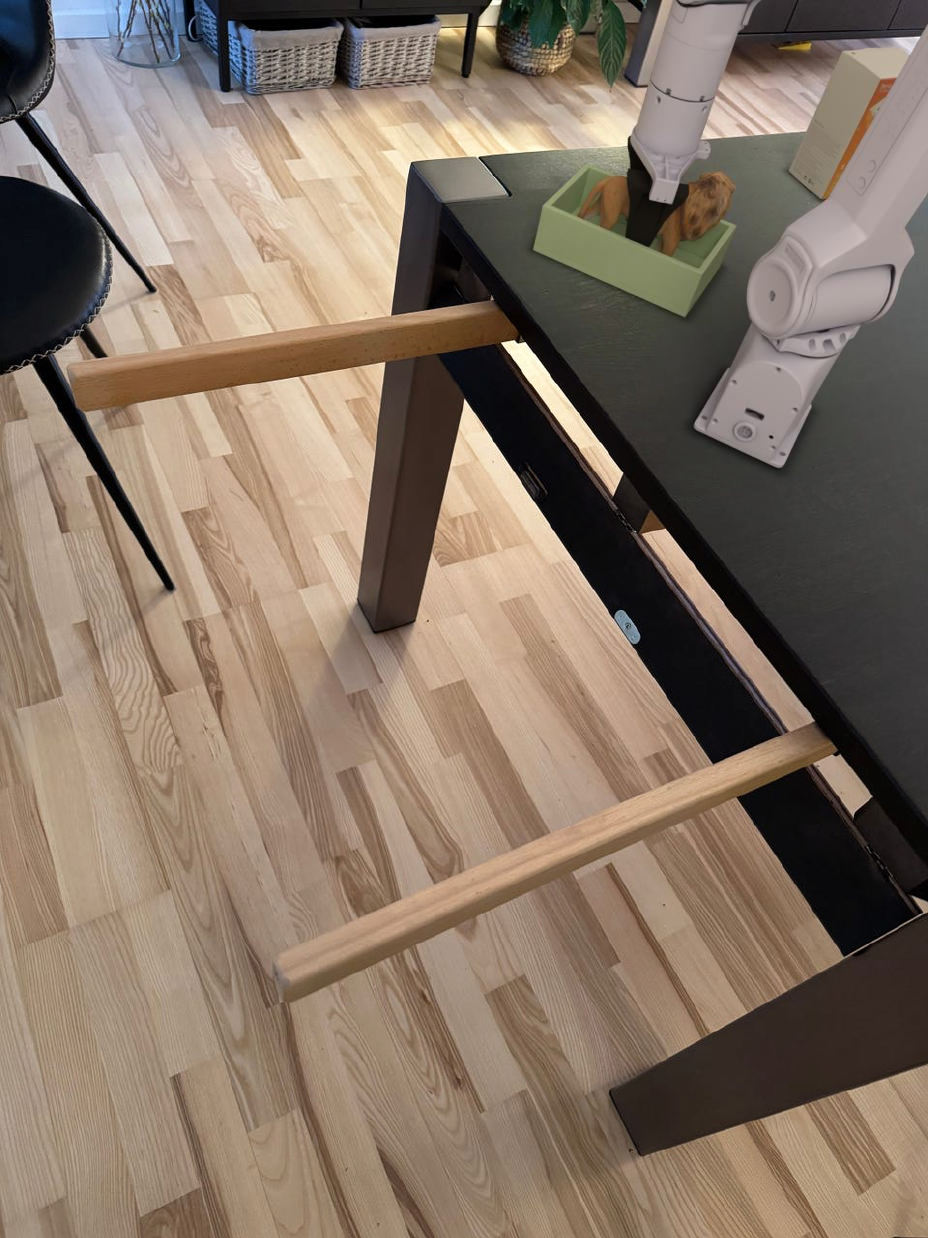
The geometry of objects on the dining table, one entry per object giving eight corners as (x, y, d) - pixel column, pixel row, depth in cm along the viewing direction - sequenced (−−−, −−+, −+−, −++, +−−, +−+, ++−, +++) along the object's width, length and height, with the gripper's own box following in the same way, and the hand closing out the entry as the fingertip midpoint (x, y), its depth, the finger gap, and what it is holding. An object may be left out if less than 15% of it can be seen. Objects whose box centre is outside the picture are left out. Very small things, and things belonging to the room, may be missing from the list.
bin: (684, 317, 84) (702, 274, 80) (532, 250, 87) (542, 205, 83) (719, 267, 89) (737, 225, 86) (575, 206, 92) (586, 162, 89)
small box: (820, 201, 100) (881, 78, 90) (786, 171, 103) (840, 48, 93) (873, 193, 103) (937, 72, 92) (838, 163, 106) (896, 43, 95)
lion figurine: (701, 252, 90) (737, 164, 82) (705, 283, 86) (743, 194, 79) (558, 223, 88) (583, 131, 81) (557, 253, 85) (582, 160, 78)
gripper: (734, 136, 71) (677, 286, 82) (724, 57, 79) (674, 202, 90) (648, 118, 70) (602, 271, 81) (647, 41, 79) (606, 188, 90)
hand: (635, 234), depth 86 cm, fingers closed on lion figurine, 4 cm apart
